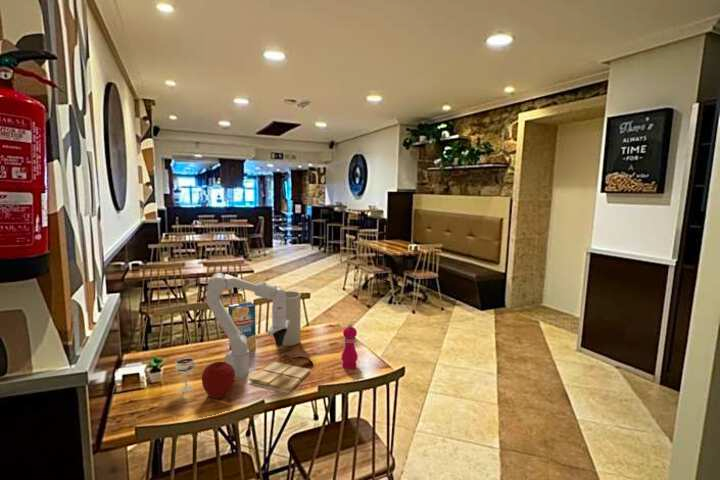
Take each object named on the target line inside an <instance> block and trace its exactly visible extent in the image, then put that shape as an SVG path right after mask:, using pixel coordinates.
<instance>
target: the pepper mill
mask: <svg viewBox="0 0 720 480" xmlns="http://www.w3.org/2000/svg"><path fill="white" fill-rule="evenodd" d="M342 331H343V332H342V334H343V337H344V338H343V341H344V343H345V344H344V348H343V351H342V353H341V361H342V365H341V367H342V368H343V369H346V370H354V369H356V368H357V360H358V352H357V350H356V348H355V342H356V339H357V338H356V337H357V334H358V331H357V329H356V328H355V327H354V326H353V324H352V323H348V325H347V326H346V327H345V328H344V329H343V330H342Z"/></svg>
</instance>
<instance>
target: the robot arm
mask: <svg viewBox="0 0 720 480" xmlns="http://www.w3.org/2000/svg"><path fill="white" fill-rule="evenodd" d="M226 288H227V289H226ZM234 288H237V289H240V290H245V291H249V292H253V293H254V295H255V296H257V297H259V298H263V299H267V300H272V306H271V314H272V316H271V318H272V320H271V322H272V323H271V324H272V325H271V326H270V328H269V329H268V330H267V336H271V337H272V336H273V338H274V342H275V345H276V346H277V347H283V346H282V344H283V339H284V336H285V334H286V332H287V329H286V328H288V326H287V325H289V324H290V320H286V305H285V303H286V299H287V296H286V293H285V291H286V290H285V289H284V288H283V287H281V286H279V285H278V286H277V285H270V284H267V282H266V281H262V282H258V283H254V282H250V281H249V280H246V279H243V278H242V279H241V278H240V277H236V276H233V275H230V274H227V273H225V274H224V273H222V272H216V273H214V274H212V275H211V277H210V280H209V281H208V285H207V288H206V298H205V301H206V304H207V306H208V307H209V309H210V310H211V312H212V314H213V315H214V317H215V318H216V320H217V322H218V323H219V325H220V326H221V329H222V330H223V331H224V333H225V334H226V336H227V339H228V343H229V342H230V344H231V346H232V350H229V351H228V352H227V353H226V355H225V359H224V362H225V363H228V364H230V365H231V366H233V369H234V371H235V377H237V378H244V377H246V376H247V375H248V374H250V373H252V372H253V371H254V368H252V367H250V350H248V346H247V337H246V336H245V335H244V334H242V333H241V332H240V330H239V329H237V327H236V325H235V324H234V322H233V320H232V319H231V317H230V315H229V313H228V310H227V309H226V307H225V305H224V304H223V302H222V300H221V299H220V298H221V295H222V293H224V291H225V289H226V290H227V291H228V290H230V289H234Z"/></svg>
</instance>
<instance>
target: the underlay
mask: <svg viewBox="0 0 720 480" xmlns="http://www.w3.org/2000/svg"><path fill="white" fill-rule="evenodd" d="M261 371H263V369H262V370H261ZM311 372H312V371H311V370H310V372H309V373H308V374H310V373H311ZM308 374H307V375H308ZM246 384H248V385H251V386H252V385H253V386H256V387H257V386H258V387H261V388H264V389H269V390H273V391H278V392H282V393H287V394H288V393H290V392H292V390H293V389H294V388H292V389H291V390H290V391H286V390H282V389H278V388H273V387H270V385H265V384H260V383H256V382H252V381H250V379H249V380H248V381H247V382H246Z"/></svg>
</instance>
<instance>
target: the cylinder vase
mask: <svg viewBox="0 0 720 480" xmlns="http://www.w3.org/2000/svg"><path fill="white" fill-rule="evenodd" d="M284 291H285V293H286V296H287V299H286V303H285V305H286V320H290V324H289V325H287V326H288V328H286V329H287V332H286V334H285V336H284V339H283V344H282V346H281V347H292V346H296V345H297V344H299V343H300V342H301V318H302V317H301V310H302V309H301V306H302V305H301V300H302V299H301V298H302V297H301V293H300V292H298V291H293V290H292V291H291V290H289V291H288V290H287V291H286V290H284Z"/></svg>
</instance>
